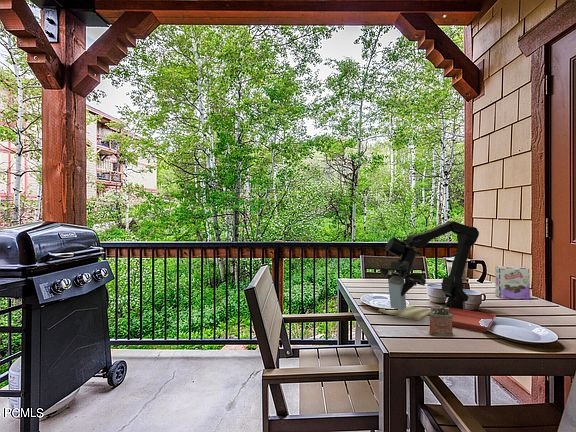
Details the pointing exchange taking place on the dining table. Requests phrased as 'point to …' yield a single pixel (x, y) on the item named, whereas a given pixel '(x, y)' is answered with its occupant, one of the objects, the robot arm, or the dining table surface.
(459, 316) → the red flat slab
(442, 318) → the reddish brown box
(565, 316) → the dining table surface
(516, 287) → the candy box
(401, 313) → the birch board
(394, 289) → the slate block
